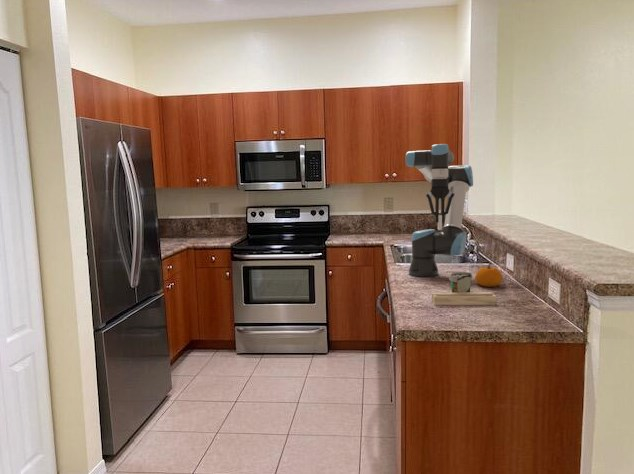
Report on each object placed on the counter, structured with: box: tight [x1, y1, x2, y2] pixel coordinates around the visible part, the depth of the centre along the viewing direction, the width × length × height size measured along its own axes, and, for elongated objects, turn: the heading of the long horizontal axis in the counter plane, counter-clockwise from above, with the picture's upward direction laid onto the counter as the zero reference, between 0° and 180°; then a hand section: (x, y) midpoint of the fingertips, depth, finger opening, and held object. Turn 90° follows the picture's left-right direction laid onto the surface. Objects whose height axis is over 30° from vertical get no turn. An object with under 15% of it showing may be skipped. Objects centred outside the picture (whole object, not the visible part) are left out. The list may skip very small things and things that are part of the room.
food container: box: [448, 271, 473, 293], centre depth 202 cm, size 12×6×10 cm, turn 133°
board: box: [431, 291, 497, 306], centre depth 194 cm, size 6×24×4 cm, turn 85°
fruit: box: [475, 264, 503, 288], centre depth 221 cm, size 12×12×10 cm
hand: (439, 229), depth 223 cm, fingers closed
